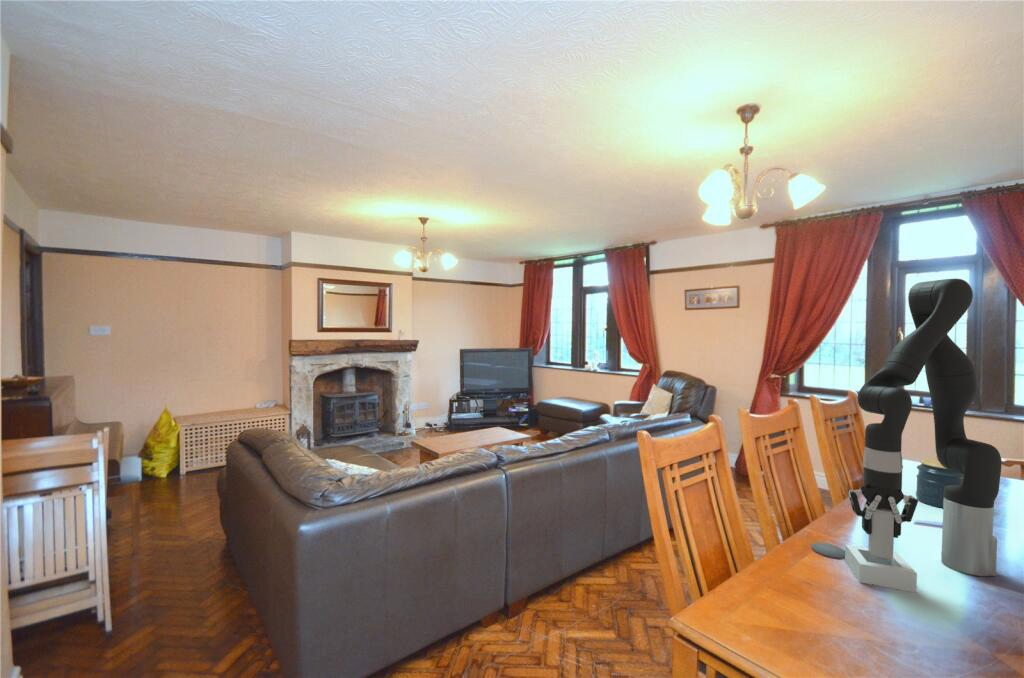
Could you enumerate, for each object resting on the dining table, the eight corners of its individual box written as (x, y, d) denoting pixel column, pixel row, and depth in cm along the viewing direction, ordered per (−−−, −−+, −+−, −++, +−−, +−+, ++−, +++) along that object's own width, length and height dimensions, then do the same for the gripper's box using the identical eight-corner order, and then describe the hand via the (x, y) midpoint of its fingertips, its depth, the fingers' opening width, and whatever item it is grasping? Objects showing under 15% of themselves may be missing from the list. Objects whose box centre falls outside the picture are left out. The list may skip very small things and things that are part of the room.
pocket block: (896, 569, 117) (896, 552, 117) (916, 592, 106) (916, 573, 106) (844, 561, 121) (845, 544, 121) (859, 582, 110) (860, 563, 110)
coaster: (841, 547, 128) (841, 545, 128) (851, 561, 121) (851, 559, 121) (808, 542, 131) (808, 540, 131) (815, 555, 124) (815, 553, 124)
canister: (959, 501, 166) (961, 453, 165) (970, 513, 155) (972, 461, 154) (912, 494, 173) (913, 447, 172) (919, 505, 162) (921, 455, 161)
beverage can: (897, 561, 111) (898, 512, 110) (875, 559, 112) (876, 511, 111) (885, 552, 115) (886, 505, 115) (864, 550, 116) (865, 503, 116)
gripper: (911, 465, 114) (909, 533, 114) (843, 459, 119) (841, 524, 119) (926, 474, 107) (924, 546, 107) (852, 467, 112) (851, 536, 112)
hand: (880, 534), depth 113 cm, fingers closed on beverage can, 4 cm apart
